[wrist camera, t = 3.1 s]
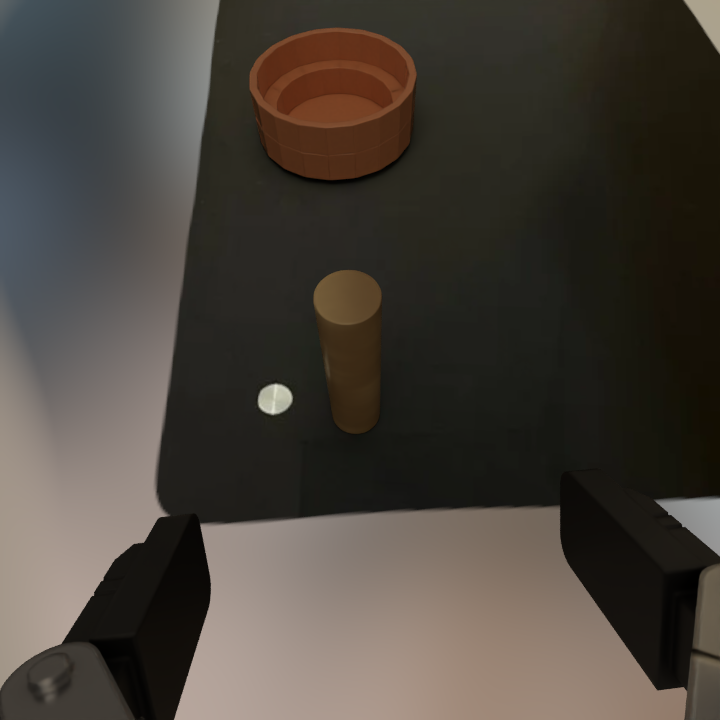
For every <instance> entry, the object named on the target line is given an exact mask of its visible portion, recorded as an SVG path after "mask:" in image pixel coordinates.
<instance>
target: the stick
mask: <svg viewBox="0 0 720 720" xmlns="http://www.w3.org/2000/svg"><path fill="white" fill-rule="evenodd" d="M313 302H314V308H315V314H316V320H317V326H318V332H319V338H320V344H321V350H322V356H323V362H324V368H325V374H326V380H327V386H328V392H329V398H330V404H331V410H332V416H333V420H334V422H335V423H336V425H337V426H338V427H339V428H340V429H341V430H343V431H345V432H347V433H351V434H360V433H364V432H367V431H368V430H370V429H371V428H373V427H374V426H375V424H376V423H377V421H378V419H379V416H380V381H381V324H382V293H381V289H380V287H379V285H378V284H377V282H376V281H375V280H374V279H373V278H372V277H370V276H369V275H367V274H365V273H363V272H359V271H355V270H342V271H338V272H334V273H332V274H330V275H328V276H326V277H325V278H324V279H323V280H322V281H321V282H320V283H319V284H318V285H317V287H316V289H315V292H314V296H313Z"/></svg>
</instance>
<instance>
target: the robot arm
mask: <svg viewBox="0 0 720 720" xmlns="http://www.w3.org/2000/svg"><path fill="white" fill-rule="evenodd" d="M560 537H561V544H562V549H563V552H564V555H565V558H566V560H567V562H568V564H569V566H570V567H571V568H572V570H573V571H574V573H575V574H576V576H577V577H578V578H579V580H580V581H581V582H582V584H583V586H584V587H585V588H586V590H587V591H588V592H589V594H590V595H591V597H592V598H593V600H594V601H595V603H596V604H597V605H598V607H599V608H600V610H601V611H602V613H603V614H604V615H605V617H606V618H607V620H608V621H609V622H610V624H611V625H612V627H613V628H614V630H615V631H616V632H617V634H618V635H619V637H620V638H621V640H622V641H623V642H624V643H625V645H626V647H627V648H628V649H629V651H630V652H631V654H632V655H633V657H634V658H635V659H636V661H637V662H638V663H639V665H640V666H641V668H642V669H643V671H644V672H645V673H646V675H647V676H648V678H649V679H650V681H651V682H652V684H653V685H654V686H655V688H656V689H657V690H664V689H672V688H680V687H684V688H685V689H686V690H687V700H686V710H685V720H720V556H718V555H717V554H716V553H715V552H714V551H713V550H711V549H710V548H709V547H708V546H707V545H706V544H704V543H703V542H702V541H701V540H700V539H699V538H697V537H696V536H695V535H694V534H693V533H691V532H690V531H689V530H688V529H687V528H686V527H682V524H681V523H680V522H679V521H677V520H676V519H675V518H674V517H673V516H672V515H668V512H667V511H665V510H664V509H663V508H662V507H661V506H660V505H659V504H657V503H656V502H655V501H654V500H653V499H652V498H649V497H647V496H645V495H643V494H641V493H639V492H636V491H634V490H632V489H630V488H621V487H620V486H619V485H618V484H617V483H616V482H615V481H614V480H612V479H611V478H610V477H609V476H608V475H607V474H606V473H605V472H604V471H602V470H601V469H599V468H595V469H586V470H577V471H568V472H564V473H563V474H562V476H561V481H560ZM210 594H211V583H210V574H209V569H208V563H207V558H206V553H205V548H204V543H203V537H202V532H201V527H200V522H199V519H198V517H197V515H196V514H185V515H177V516H168V517H160V518H159V519H158V520H157V521H156V523H155V525H154V526H153V528H152V530H151V532H150V533H149V535H148V537H147V539H146V541H145V542H144V543H138V544H133V545H132V546H131V547H130V548H129V549H127V550H126V551H125V552H124V553H123V554H121V555H120V556H119V557H118V558H117V559H115V561H114V562H113V563H112V565H111V567H110V568H109V570H108V571H107V573H106V575H105V576H104V580H103V581H101V582H100V584H99V586H98V587H97V589H96V590H95V592H94V596H92V597H91V598H90V600H89V601H88V603H87V605H86V606H85V608H84V609H83V611H82V612H81V614H80V616H79V617H78V619H77V620H76V622H75V623H74V625H73V627H72V628H71V630H70V631H69V633H68V635H67V636H66V638H65V639H64V641H63V642H62V644H61V645H58V646H55V647H52V648H49V649H47V650H45V651H43V652H41V653H39V654H38V655H36V656H34V657H32V658H31V659H29V660H28V661H26V662H25V663H24V664H22V665H21V666H20V667H19V668H17V669H16V670H15V671H14V672H13V673H12V674H11V676H10V677H9V678H8V679H7V680H6V682H5V683H4V684H3V686H2V688H1V690H0V720H174V718H175V714H176V711H177V708H178V705H179V701H180V698H181V695H182V692H183V689H184V685H185V682H186V679H187V676H188V673H189V669H190V666H191V663H192V660H193V656H194V653H195V650H196V646H197V644H198V640H199V637H200V634H201V631H202V627H203V624H204V621H205V618H206V615H207V611H208V608H209V604H210Z"/></svg>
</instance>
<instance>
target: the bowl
mask: <svg viewBox="0 0 720 720" xmlns="http://www.w3.org/2000/svg"><path fill="white" fill-rule="evenodd" d="M416 80H417V74H416V70H415V66H414V62H413V59H412V58H411V57H410V56H409V54H408V53H407V52H406V51H405V50H404V49H403V47H402V46H400V45H398V44H397V43H395V42H393V41H391V40H390V39H388V38H386V37H384V36H382V35H379V34H375V33H372V32H368V31H365V30H358V29H348V28H327V29H315V30H311V31H308V32H304V33H300V34H296V35H293V36H290V37H288V38H286V39H284V40H282V41H280V42H278V43H276V44H274V45H273V46H271V47H270V48H269V49H268V50H267V51H265V52H264V53H263V54H262V55H261V56H260V57H259V58H257V60H256V62H255V64H254V66H253V68H252V70H251V72H250V93H251V98H252V102H253V107H254V112H255V116H256V121H257V125H258V130H259V135H260V139H261V143H262V145H263V147H264V148H265V150H266V152H267V154H268V156H269V157H270V158H271V159H273V160H274V161H275V162H276V163H278V164H279V165H280V166H281V167H282V168H284V169H286V170H288V171H291V172H293V173H296V174H298V175H301V176H303V177H308V178H315V179H323V180H341V179H352V178H355V177H356V178H358V177H361V176H364V175H367V174H370V173H373V172H376V171H379V170H381V169H382V168H384V167H386V166H387V165H389V164H390V163H392V162H393V161H395V160H396V159H398V157H399V156H400V155H401V154H402V152H403V151H404V150H405V149H406V147H407V146H408V145H409V143H410V139H411V135H412V131H413V123H414V108H415V94H416Z"/></svg>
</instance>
